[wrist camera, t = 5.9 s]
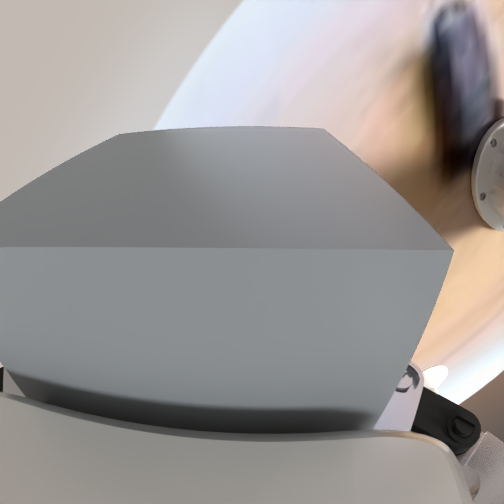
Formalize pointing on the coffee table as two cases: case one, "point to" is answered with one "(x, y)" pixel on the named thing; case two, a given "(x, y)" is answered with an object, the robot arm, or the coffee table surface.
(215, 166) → the grey rectangular box
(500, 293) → the coffee table surface
